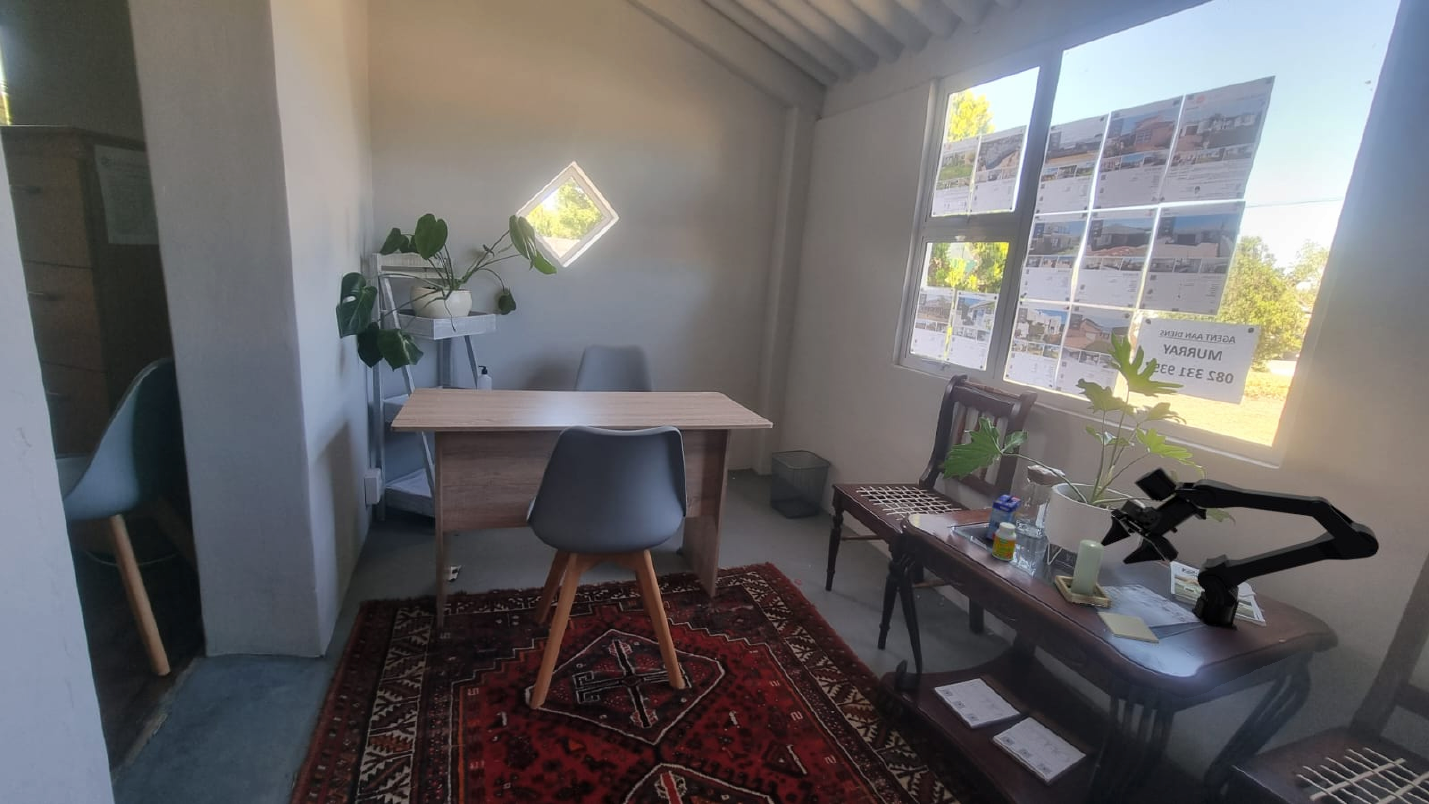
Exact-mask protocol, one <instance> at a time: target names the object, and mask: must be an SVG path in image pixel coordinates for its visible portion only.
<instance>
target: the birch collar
mask: <svg viewBox="0 0 1429 804" xmlns="http://www.w3.org/2000/svg"><path fill="white" fill-rule="evenodd" d="M1072 580H1073V576H1072V577H1071V576H1064V575H1055V577H1054V581H1053V582H1054V584H1055V586H1056V587H1057V588H1058V589H1059V591H1060V592H1061V594H1062V596H1064V599H1066V601H1067V602H1068V603H1073V602H1075V604H1080V603H1086V604H1085V605H1087V604H1094V605H1101V606H1105V607H1104V608H1107V607H1110V608H1109V609H1111V606H1112V603H1113V600H1112V598H1111V597H1110V596H1109V595H1108V594H1107V593H1106V591H1105V590H1104V589H1103V588H1102V586H1101V585H1100V584H1099V583H1098V581H1097V582H1096V586H1095V591H1094V593H1095V594H1096V596H1094V595H1093V596H1087V595H1080V594H1073V593H1071V592H1070V589H1069V587H1068V586H1070V587H1071V584H1072ZM1097 595H1098V596H1097ZM1094 605H1093V606H1094Z"/></svg>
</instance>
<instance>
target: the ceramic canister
mask: <svg viewBox="0 0 1429 804" xmlns="http://www.w3.org/2000/svg"><path fill="white" fill-rule="evenodd" d="M1104 551H1105V546H1103V545H1102V544H1101V542H1100V543H1099V542H1098V541H1094V540H1090V539H1081V541H1080V543H1079V548H1078V553H1077V556H1076V562H1075V566H1074V571H1073V576H1072V578H1073V580H1072V584H1071V586H1070V589H1069V590H1070V592H1071V593H1073V594H1080V595H1087V596H1093V597H1094V593H1095V592H1094V591H1095V586H1096V582H1097V583H1098V577H1099V572H1100V569H1101V563H1102V560H1103V559H1102V558H1103V556H1104Z"/></svg>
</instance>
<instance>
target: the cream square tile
mask: <svg viewBox="0 0 1429 804" xmlns="http://www.w3.org/2000/svg"><path fill="white" fill-rule="evenodd" d="M1097 613H1098V614H1097V615H1098V616H1099V618H1100V619H1101V620H1102V622H1103V621H1104V622H1103V623H1104V625H1106V627H1107V629H1108V630H1109V629H1110V630H1109V632H1110V633H1111V634H1112V635H1113V637H1118V636H1120V637H1119V638H1125V639H1132V640H1136V641H1137V640H1139V641H1143V642H1150V643H1151V642H1152V643H1156V644H1157V643H1158V644H1159V642H1160V639H1159V638H1158V637H1157V636H1156V635H1155V634H1154V632H1152V630H1151V629H1150V627H1148V625H1146V623H1145V622H1144V621H1143V620H1142V619H1141V618H1140V617H1138V616H1130V615H1124V614H1117V613H1112V612H1103V611H1097Z"/></svg>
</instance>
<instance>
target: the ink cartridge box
mask: <svg viewBox="0 0 1429 804" xmlns="http://www.w3.org/2000/svg"><path fill="white" fill-rule="evenodd" d="M1016 493H1017V492H1015V493H1014V494H1012V495H1008V494H1002V495H1001V496H1000V497H998V498H997V499H995V500H994V501H993V503H992V508H991V513H990V517H989V522H988V527H987V532H986V535H985V536H986V538H987V539H990V540H992V541H994V539H995V533H996V531H997V530H999V526H1000V523H1002V522H1005V523H1010V524H1013V525H1014V526H1015V527H1016V525H1017V521H1018V515H1019V512H1020V507H1021V502H1022V499H1020V498H1017V497H1015V495H1016Z"/></svg>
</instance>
